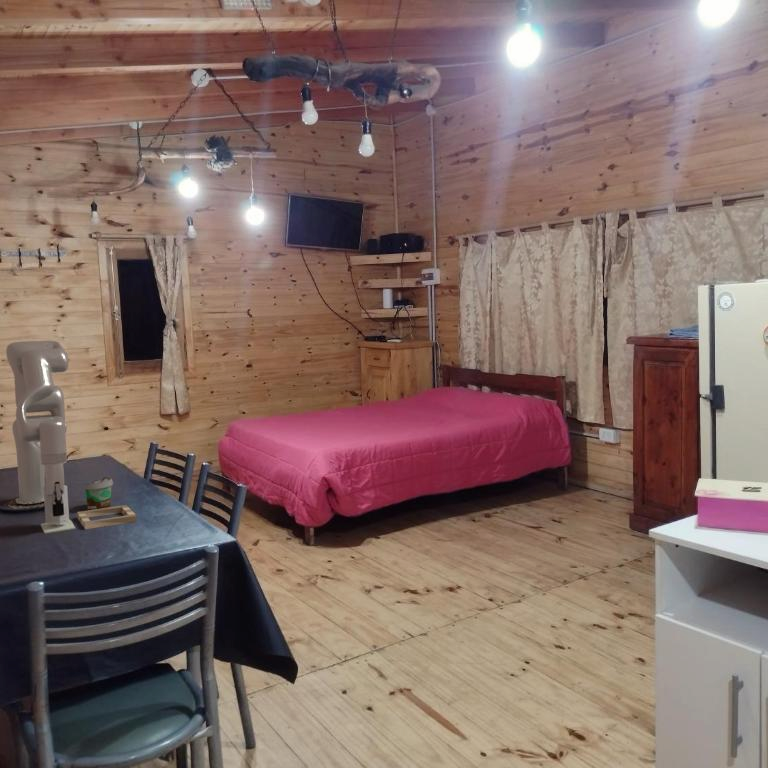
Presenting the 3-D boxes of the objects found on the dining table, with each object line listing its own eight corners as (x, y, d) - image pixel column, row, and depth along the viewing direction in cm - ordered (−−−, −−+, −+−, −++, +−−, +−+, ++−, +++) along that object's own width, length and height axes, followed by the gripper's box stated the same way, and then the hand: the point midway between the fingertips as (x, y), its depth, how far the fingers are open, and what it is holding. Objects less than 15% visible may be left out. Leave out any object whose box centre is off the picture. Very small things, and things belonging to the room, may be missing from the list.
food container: (101, 512, 249) (99, 484, 248) (85, 512, 251) (83, 483, 250) (121, 503, 261) (119, 476, 260) (105, 502, 263) (104, 475, 262)
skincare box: (69, 521, 234) (67, 485, 233) (60, 525, 230) (58, 488, 229) (54, 520, 236) (52, 484, 235) (44, 523, 232) (42, 487, 231)
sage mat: (40, 525, 235) (40, 523, 235) (70, 520, 240) (70, 519, 240) (44, 533, 226) (44, 532, 226) (75, 528, 230) (75, 527, 230)
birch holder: (77, 517, 243) (77, 512, 243) (126, 510, 251) (126, 505, 251) (85, 529, 230) (84, 523, 229) (137, 521, 238) (136, 515, 238)
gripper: (38, 455, 236) (41, 508, 238) (44, 464, 221) (47, 521, 223) (62, 453, 240) (65, 505, 242) (70, 461, 225) (73, 517, 227)
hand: (56, 512), depth 232 cm, fingers closed on skincare box, 7 cm apart
